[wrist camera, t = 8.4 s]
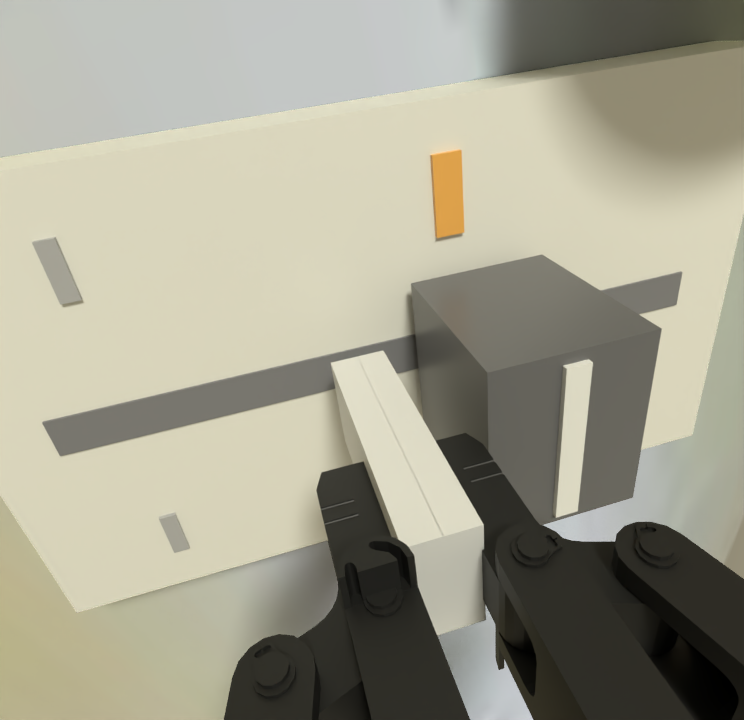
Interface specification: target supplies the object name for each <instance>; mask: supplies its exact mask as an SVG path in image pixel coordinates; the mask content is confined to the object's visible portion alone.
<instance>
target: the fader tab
mask: <svg viewBox="0 0 744 720" xmlns="http://www.w3.org/2000/svg"><path fill="white" fill-rule="evenodd" d="M411 291H412V302H413V313H414V324H415V335H416V346H417V357H418V368H419V379H420V390H421V400H422V411H423V420H424V422H425V424H426V425H427V427H428V429H429V431H430V432H431V434H432V436H433V438H434V439H435V441H436V440H440V439H444V438H448V437H451V436H455V435H459V434H463V433H467V434H468V435H470V436H472V437H473V438H475V439H476V440H478V441H479V442H481V443H483V445H484V446H485V447H486V449H487V450H488V452H489V453H490V455H491V456H492V458H493V460H494V462H496V463H497V465H498V466H499V468H500V469H501V471H502V474H504V475H505V476H506V478H507V479H508V481H509V482H510V484H511V485H512V486H513V488H514V489H515V491H516V492H517V494H518V495H519V497H520V498H521V499H522V501H523V502H524V504H525V505H526V507H527V508H528V510H529V511H530V512H531V514H532V515H533V517H534V518H535V520H536V521H537V522H538V523H539V524H540V525H544V524H547V523H550V522H553V521H557V520H560V519H563V518H567V517H570V516H573V515H577V514H580V513H583V512H586V511H590V510H593V509H596V508H600V507H603V506H606V505H610V504H613V503H616V502H619V501H623V500H626V499H629V498H633V493H634V487H635V481H636V475H637V470H638V464H639V458H640V452H641V446H642V441H643V435H644V429H645V423H646V418H647V412H648V406H649V400H650V394H651V389H652V383H653V377H654V371H655V366H656V360H657V354H658V348H659V342H660V337H661V331H662V329H661V328H660V327H658V326H657V325H655V324H653V323H652V322H650V321H649V320H647V319H645V318H644V317H642V316H640V315H639V314H637V313H636V312H634V311H632V310H631V309H629V308H628V307H626V306H624V305H623V304H621V303H620V302H618V301H616V300H615V299H613V298H611V297H610V296H608V295H607V294H605V293H603V292H602V291H600V290H599V289H597V288H595V287H594V286H592V285H591V284H589V283H587V282H586V281H584V280H583V279H581V278H579V277H578V276H576V275H574V274H573V273H571V272H570V271H568V270H566V269H565V268H563V267H562V266H560V265H558V264H557V263H555V262H554V261H552V260H550V259H549V258H547V257H545V256H544V255H537V256H533V257H528V258H524V259H519V260H514V261H510V262H505V263H501V264H496V265H492V266H487V267H483V268H478V269H474V270H469V271H464V272H460V273H455V274H451V275H446V276H442V277H437V278H433V279H428V280H424V281H419V282H415V283H411Z"/></svg>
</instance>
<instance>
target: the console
mask: <svg viewBox="0 0 744 720" xmlns="http://www.w3.org/2000/svg"><path fill="white" fill-rule="evenodd" d="M743 214H744V41H711V42H705V43H699V44H692V45H686V46H680V47H674V48H668V49H662V50H656V51H650V52H643V53H637V54H631V55H625V56H619V57H613V58H607V59H601V60H594V61H588V62H582V63H576V64H570V65H564V66H558V67H552V68H546V69H539V70H533V71H527V72H521V73H515V74H509V75H503V76H497V77H490V78H484V79H478V80H472V81H466V82H460V83H454V84H448V85H441V86H435V87H429V88H423V89H417V90H411V91H405V92H399V93H392V94H386V95H380V96H374V97H368V98H362V99H356V100H350V101H343V102H337V103H331V104H325V105H319V106H313V107H307V108H301V109H294V110H288V111H282V112H276V113H270V114H264V115H258V116H252V117H245V118H239V119H233V120H227V121H221V122H215V123H209V124H203V125H196V126H190V127H184V128H178V129H172V130H166V131H160V132H154V133H147V134H141V135H135V136H129V137H123V138H117V139H111V140H105V141H99V142H92V143H86V144H80V145H74V146H68V147H62V148H56V149H50V150H43V151H37V152H31V153H25V154H19V155H13V156H7V157H1V158H0V496H1V497H2V499H3V500H4V502H5V503H6V505H7V507H8V508H9V510H10V511H11V513H12V514H13V516H14V517H15V519H16V520H17V522H18V523H19V525H20V526H21V528H22V530H23V531H24V533H25V534H26V536H27V537H28V539H29V540H30V542H31V543H32V545H33V546H34V548H35V549H36V551H37V553H38V554H39V556H40V557H41V559H42V560H43V562H44V563H45V565H46V566H47V568H48V569H49V571H50V572H51V574H52V576H53V577H54V579H55V580H56V582H57V583H58V585H59V586H60V588H61V589H62V591H63V592H64V594H65V595H66V597H67V599H68V600H69V602H70V603H71V605H72V606H73V608H74V609H75V611H76V612H77V613H78V612H81V611H85V610H88V609H92V608H95V607H99V606H102V605H106V604H109V603H113V602H116V601H119V600H123V599H126V598H130V597H133V596H137V595H140V594H144V593H147V592H151V591H154V590H158V589H161V588H164V587H168V586H171V585H175V584H178V583H182V582H185V581H189V580H192V579H196V578H199V577H203V576H206V575H210V574H213V573H216V572H220V571H223V570H227V569H230V568H234V567H237V566H241V565H244V564H248V563H251V562H255V561H258V560H261V559H265V558H268V557H272V556H275V555H279V554H282V553H286V552H289V551H293V550H296V549H300V548H303V547H306V546H310V545H313V544H317V543H320V542H324V541H327V540H328V538H327V534H326V530H325V526H324V521H323V517H322V513H321V509H320V504H319V500H318V496H317V492H316V489H317V486H318V482H319V479H320V475H321V472H325V471H329V470H332V469H336V468H340V467H344V466H347V465H351V464H353V462H352V459H351V457H350V454H349V451H348V448H347V445H346V442H345V438H344V432H343V427H342V421H341V416H340V411H339V405H338V400H337V395H336V389H335V384H334V378H333V373H332V368H331V363H332V362H336V361H340V360H344V359H349V358H353V357H357V356H362V355H366V354H370V353H374V352H379V351H384V353H385V354H386V356H387V358H388V359H389V361H390V363H391V365H392V366H393V368H394V370H395V372H396V373H397V375H398V377H399V379H400V380H401V382H402V384H403V385H404V387H405V389H406V391H407V392H408V394H409V396H410V398H411V399H412V401H413V403H414V405H415V406H416V408H417V410H418V412H419V413H420V415H421V417H422V418H423V411H422V400H421V390H420V379H419V368H418V357H417V346H416V335H415V324H414V313H413V302H412V291H411V283H415V282H419V281H424V280H428V279H433V278H437V277H442V276H446V275H451V274H455V273H460V272H464V271H469V270H474V269H478V268H483V267H487V266H492V265H496V264H501V263H505V262H510V261H514V260H519V259H524V258H528V257H533V256H537V255H544V256H545V257H547V258H549V259H550V260H552V261H554V262H555V263H557V264H558V265H560V266H562V267H563V268H565V269H566V270H568V271H570V272H571V273H573V274H574V275H576V276H578V277H579V278H581V279H583V280H584V281H586V282H587V283H589V284H591V285H592V286H594V287H595V288H597V289H599V290H600V291H602V292H603V293H605V294H607V295H608V296H610V297H611V298H613V299H615V300H616V301H618V302H620V303H621V304H623V305H624V306H626V307H628V308H629V309H631V310H632V311H634V312H636V313H637V314H639V315H640V316H642V317H644V318H645V319H647V320H649V321H650V322H652V323H653V324H655V325H657V326H658V327H660V328H661V329H662V331H661V337H660V342H659V348H658V354H657V360H656V366H655V371H654V377H653V383H652V389H651V394H650V400H649V406H648V412H647V418H646V423H645V429H644V435H643V441H642V446H641V450H642V449H646V448H649V447H653V446H656V445H660V444H663V443H667V442H670V441H674V440H677V439H681V438H684V437H687V436H691V435H692V434H693V430H694V426H695V421H696V417H697V413H698V408H699V404H700V400H701V395H702V391H703V387H704V382H705V378H706V374H707V370H708V365H709V361H710V357H711V352H712V348H713V344H714V339H715V335H716V331H717V326H718V322H719V318H720V313H721V309H722V305H723V301H724V296H725V292H726V288H727V283H728V279H729V275H730V270H731V266H732V262H733V257H734V253H735V249H736V245H737V240H738V236H739V232H740V227H741V223H742V219H743Z"/></svg>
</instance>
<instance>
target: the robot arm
mask: <svg viewBox="0 0 744 720" xmlns="http://www.w3.org/2000/svg"><path fill="white" fill-rule="evenodd" d="M331 368H332V373H333V378H334V384H335V389H336V395H337V400H338V405H339V411H340V416H341V421H342V427H343V432H344V438H345V442H346V445H347V448H348V451H349V454H350V457H351V459H352V462H353V464H351V465H347V466H344V467H340V468H336V469H332V470H329V471H325V472H321V475H320V479H319V482H318V486H317V489H316V492H317V496H318V500H319V504H320V509H321V513H322V517H323V521H324V526H325V530H326V534H327V538H328V543H329V547H330V551H331V555H332V559H333V563H334V568H335V572H336V576H337V580H338V594H337V599H336V602H335V604H334V606H333V608H332V610H331V611H330V612H329V614H328V615H327V616H326V617H325V619H323V620H322V621H321V622H320V623H319V624H318V625H316V626H315V627H314V628H312V629H311V630H309V631H308V632H306V633H305V634H303V635H302V636H300V637H299V638H296V637H295V636H290V635H281V634H278V635H275V636H271V637H267V638H264V639H262V640H261V641H259V642H258V643H256V644H255V645H253V646H252V647H250V648H249V649H248V650H247V652H246V653H245V654H244V655H243V657H242V658H241V659H240V660H239V662H238V664H237V667H236V669H235V672H234V675H233V677H232V682H231V687H230V692H229V697H228V702H227V707H226V712H225V717H224V720H470V719H469V716H468V714H467V711H466V708H465V706H464V703H463V701H462V698H461V696H460V693H459V690H458V688H457V685H456V683H455V680H454V678H453V675H452V672H451V670H450V667H449V665H448V662H447V660H446V657H445V655H444V652H443V649H442V647H441V644H440V642H439V639H438V637H437V635H441V634H444V633H447V632H450V631H453V630H456V629H459V628H462V627H465V626H468V625H472V624H475V623H478V622H481V621H484V620H486V614H485V604H486V606H487V608H488V610H489V612H490V614H491V616H492V618H493V620H494V622H495V624H496V661H497V665H498V669H499V670H500V669H503V668H504V659H505V661H506V663H507V665H508V668H509V670H510V672H511V674H512V676H513V678H514V680H515V682H516V684H517V686H518V688H519V690H520V693H521V695H522V697H523V699H524V701H525V703H526V705H527V707H528V709H529V711H530V713H531V715H532V718H533V720H744V579H743V578H741V577H740V576H739V575H737V574H736V573H735V572H733V571H732V570H730V569H729V568H727V567H726V566H725V565H723V564H722V563H721V562H719V561H718V560H717V559H715V558H714V557H712V556H711V555H710V554H708V553H707V552H706V551H704V550H703V549H701V548H700V547H699V546H697V545H696V544H694V543H693V542H692V541H690V540H689V539H688V538H686V537H685V536H683V535H682V534H680V533H679V532H677V531H675V530H673V529H671V528H669V527H668V526H665V525H661V524H657V523H653V522H635V523H632V524H629V525H627V526H624V527H623V528H622V529H621V530H620V531H619V532H618V533H617V536H616V541H615V542H580V541H571V540H567V539H564V538H562V537H561V536H560V535H559V534H558V533H557V532H555V531H553V530H551V529H549V528H547V527H545V526H543V525H540V524H539V523H538V522H537V521H536V520H535V518H534V517H533V515H532V514H531V512H530V511H529V510H528V508H527V507H526V505H525V504H524V502H523V501H522V499H521V498H520V497H519V495H518V494H517V492H516V491H515V489H514V488H513V486H512V485H511V484H510V482H509V481H508V479H507V478H506V476H505V475H504V474H502V471H501V469H500V468H499V466H498V465H497V463H496V462H494V460H493V458H492V456H491V455H490V453H489V452H488V450H487V449H486V447H485V446H484V445H483V443H481V442H479V441H478V440H476V439H475V438H473V437H472V436H470V435H468V434H467V433H463V434H459V435H455V436H451V437H448V438H444V439H440V440H436V441H435V439H434V438H433V436H432V434H431V432H430V431H429V429H428V427H427V425H426V424H425V422H424V420H423V418H422V417H421V415H420V413H419V412H418V410H417V408H416V406H415V405H414V403H413V401H412V399H411V398H410V396H409V394H408V392H407V391H406V389H405V387H404V385H403V384H402V382H401V380H400V379H399V377H398V375H397V373H396V372H395V370H394V368H393V366H392V365H391V363H390V361H389V359H388V358H387V356H386V354H385V353H384V351H379V352H374V353H370V354H366V355H362V356H357V357H353V358H349V359H344V360H340V361H336V362H332V363H331Z"/></svg>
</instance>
